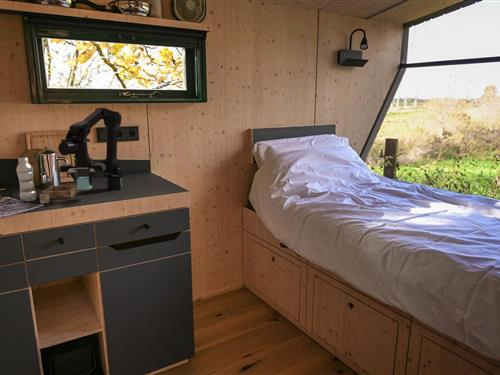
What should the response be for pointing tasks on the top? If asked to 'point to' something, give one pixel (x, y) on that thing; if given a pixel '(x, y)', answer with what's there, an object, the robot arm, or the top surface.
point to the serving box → (61, 191)
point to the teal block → (83, 183)
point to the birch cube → (44, 198)
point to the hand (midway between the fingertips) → (84, 186)
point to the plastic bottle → (26, 180)
